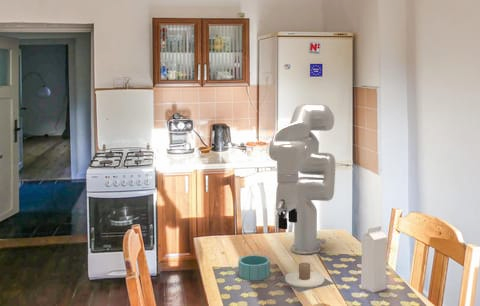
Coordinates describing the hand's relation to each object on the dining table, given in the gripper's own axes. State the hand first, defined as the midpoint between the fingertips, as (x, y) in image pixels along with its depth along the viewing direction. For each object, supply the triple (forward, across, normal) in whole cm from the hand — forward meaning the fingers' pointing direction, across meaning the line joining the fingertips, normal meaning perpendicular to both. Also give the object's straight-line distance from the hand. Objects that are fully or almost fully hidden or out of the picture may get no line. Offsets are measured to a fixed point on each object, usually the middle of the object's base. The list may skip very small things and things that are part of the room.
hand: (287, 225), depth 185 cm
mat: (+20, -1, +6) cm, 21 cm away
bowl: (+20, +1, -13) cm, 24 cm away
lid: (+20, -1, +6) cm, 21 cm away
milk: (+21, -5, +30) cm, 37 cm away
